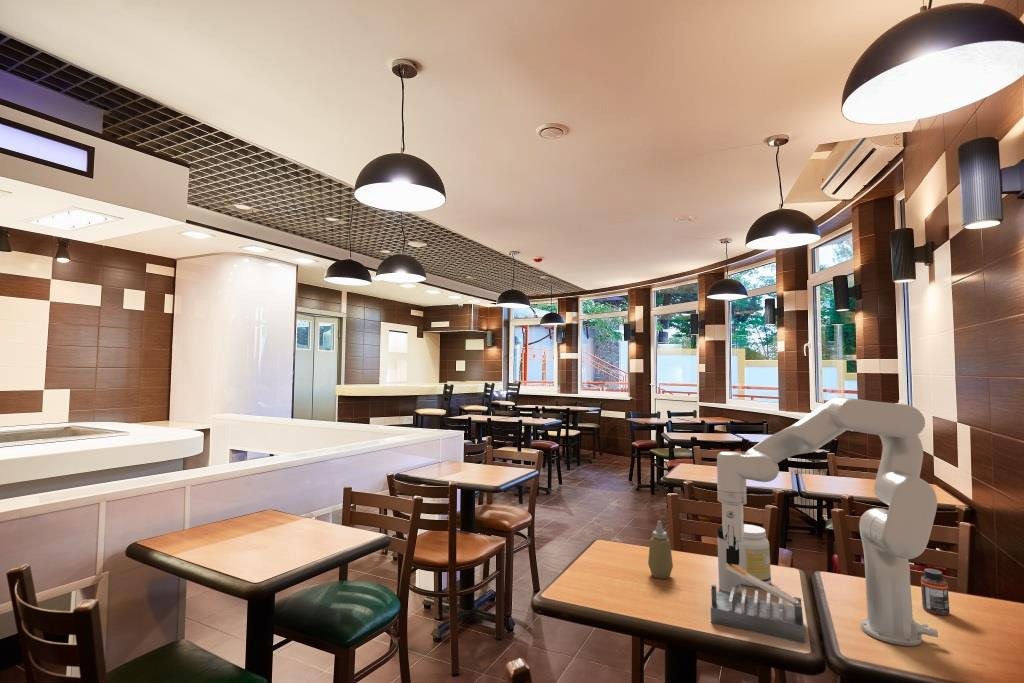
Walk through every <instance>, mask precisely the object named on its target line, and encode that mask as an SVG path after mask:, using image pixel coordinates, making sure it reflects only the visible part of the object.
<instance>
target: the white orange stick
mask: <svg viewBox="0 0 1024 683" xmlns="http://www.w3.org/2000/svg"><path fill="white" fill-rule="evenodd" d="M726 569H728V570H729V571H731V572H733V573H735V574H737V575H739V576H740V577H742V578H744V579H746V580H748V581H750V582H751V583H753V584H755V585H757V586H759V587H758V588H760V589H763V590H764V591H766V592H767V593H770V594H772V595H773V596H776V597H777V598H778V599H779V598H781V599H783V602H784V601H785V602H787V603H789V605H791V606H795V604H796V605H801V606H802V603H801V604H800V600H798V599H797V600H796V599H795V598H794V597H792V596H791V595H789V594H787V593H785V592H783V591H781V590H780V589H778V588H776V587H774V586H772V585H771V584H767V583H765V582H763V581H761V580H759V579H758V578H756V577H754V576H752V575H750V574H748V573H746V572H747V570H745V569H743V568H741V567H740V566H738V565H735V564H729V563H727V565H726Z"/></svg>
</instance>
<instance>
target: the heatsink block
mask: <svg viewBox="0 0 1024 683" xmlns="http://www.w3.org/2000/svg"><path fill="white" fill-rule="evenodd" d="M747 590H748V589H747V588H744V587H743V589H742V593H741V594H742V595H739V596H738V595H735V587H734V586H732V589H731V593H730V594H727V593H722V592H720V591H717V585H716V584H711V592H710V593H711V595H710V596H711V606H710V623H711V624H715V625H719V626H725V627H728V628H732V629H736V630H737V629H738V630H742V631H746V632H752V633H756V634H761V635H766V636H771V637H774V638H779V639H784V640H788V641H794V642H798V643H802V644H805V643H806V642H805V625H804V614H803V606H802V598H801V597H796V596H794V597H793V598H795V599H796V600H797V599H798V600H800V604H801V605H796V604H795V606H794V605H792V604H785V603H783V602H784V600H783V599H781V598H779V597H778V602H774V601H772V600H771V593H770V592H767V593H766V600H763V599H759V590H754V598H753V597H748V594H747V593H748V591H747Z"/></svg>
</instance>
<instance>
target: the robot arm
mask: <svg viewBox="0 0 1024 683" xmlns="http://www.w3.org/2000/svg"><path fill="white" fill-rule="evenodd" d="M925 426H926V418H925V417H924V415H923V413H922V412H921V411H920V410H919V409H918V408H916V407H914V406H911V405H909V404H904V403H893V402H883V401H876V400H874V401H873V400H867V399H866V400H865V399H859V398H854V397H853V398H852V397H835V398H832V399H829V400H828V401H826V402H825V403H824V404H822V405H820V406H819V407H817V408H815V410H813V411H811V412H810V413H809V414H807V415H805V416H804V417H803V418H800V420H798V421H796V422H795V423H793V424H792V425H790V426H788V427H786V428H784V429H782V430H780V431H778V432H776V433H774V434H771V435H770V436H768V437H766V438H764V439H763V440H761V441H759V442H758V443H756V444H755V445H754V446H753V447H751V448H750V449H748V450H747V451H745V453H744V454H743V453H740V452H736V451H721V452H719V453H717V456H716V457H717V458H716V474H717V475H716V476H717V478H716V482H717V483H716V484H717V502H719V503H721V515H722V516H721V519H722V520H721V522H722V523H721V524H722V526H723V538H724V539H725V540H726V538H727V548H726V562H727V563H729V564H735V565H739V549H738V540H739V541H740V542H742V541H743V537H744V524H745V522H744V505H747V502H748V501H747V480H750V481H755V482H758V483H759V482H760V483H770V482H772V481H774V480H775V479H776V478H777V477H778V475H779V472H780V468H779V465H778V463H780V462H782V461H783V460H785V459H788V458H790V457H794V456H796V455H802V454H808V453H812V452H815V451H817V450H818V449H820V448H822V447H823V446H824V445H826V444H828V443H829V442H831V441H832V440H834V439H835V438H837V437H838V436H840V435H842V434H843V433H844V432H846V431H851V432H856V433H863V434H870V435H878V436H879V438H880V441H881V443H882V444H881V445H882V452H881V458H880V462H879V466H878V470H877V473H876V477H875V480H874V485H873V492H874V494H875V496H876V498H877V499H878V500H879V501H881V503H884V504H885V505H887V506H888V509H886V508H879V507H874V508H870V509H868V510H866V511H865V512H864V513H863V514H862V515H861V516H860V519H859V522H858V523H859V524H858V526H859V534H860V538H861V539H860V540H861V542H862V544H861V545H862V549H863V555H864V574H865V575H864V576H865V577H864V578H865V593H866V609H867V610H866V611H867V618H864V619H862V620H861V621H860V627H861V629H862V631H864V632H865V633H866V634H867V635H870V636H871V637H873V638H875V639H877V640H879V641H882V642H886V643H889V644H891V645H892V644H894V645H896V646H897V645H898V646H906V647H911V646H912V647H914V646H919V645H920V644H922V642H923V638H922V636H923V635H926V636H928V637H933V638H938V637H939V634H938V632H939V631H938V629H937V628H934V627H929V625H928V624H926V623H919V622H917V621H915V619H914V618H913V615H914V614H913V603H912V602H913V601H912V586H911V584H912V583H911V570H910V569H911V568H910V563H909V562H910V561H909V560H911V559H916V558H917V557H919V556H921V555H922V554H923V553H924V551H925V550H926V548H927V545H928V543H929V539H930V537H931V532H932V530H933V525H934V521H935V517H936V513H937V509H938V497H937V494H936V491H935V489H934V488H933V486H932V485H931V484H930V483H928V482H927V481H926V480H924V479H922V478H921V472H922V465H923V460H924V450H923V449H924V448H923V443H922V441H921V438H920V436H919V435H920V433H922V432H923V431H924V428H925Z"/></svg>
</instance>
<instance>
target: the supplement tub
mask: <svg viewBox="0 0 1024 683" xmlns="http://www.w3.org/2000/svg"><path fill="white" fill-rule="evenodd" d="M739 553H740V567H741V568H743V569H745V570H747V572H746V573H748V574H750V575H752V576H754V577H756V578H758V579H759V580H761V581H763V582H765V583H767V584H769V585H771V581H772V575H771V574H772V573H771V556H770V554H771V552H770V541H769V540H768V538H767V534H766V529H765V528H763V527H762V526H758V525H754V524H747V523H744V537H743V541H742V542H740V541H739ZM740 581H741V585H744V586H746V587H747V586H748V587H755V588H760V587H759V586H757V585H755V584H753V583H751V582H750V581H748V580H746V579H744V578H742V577H740Z"/></svg>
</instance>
